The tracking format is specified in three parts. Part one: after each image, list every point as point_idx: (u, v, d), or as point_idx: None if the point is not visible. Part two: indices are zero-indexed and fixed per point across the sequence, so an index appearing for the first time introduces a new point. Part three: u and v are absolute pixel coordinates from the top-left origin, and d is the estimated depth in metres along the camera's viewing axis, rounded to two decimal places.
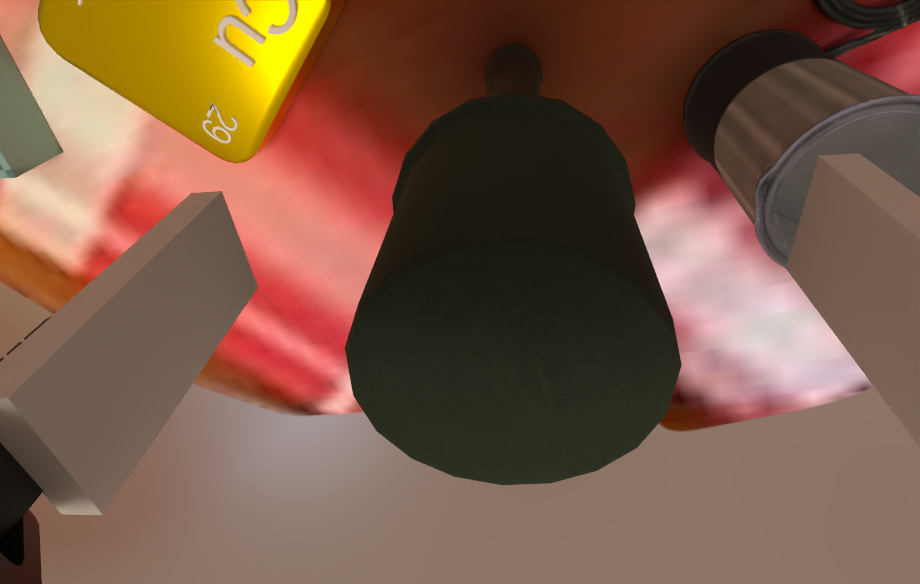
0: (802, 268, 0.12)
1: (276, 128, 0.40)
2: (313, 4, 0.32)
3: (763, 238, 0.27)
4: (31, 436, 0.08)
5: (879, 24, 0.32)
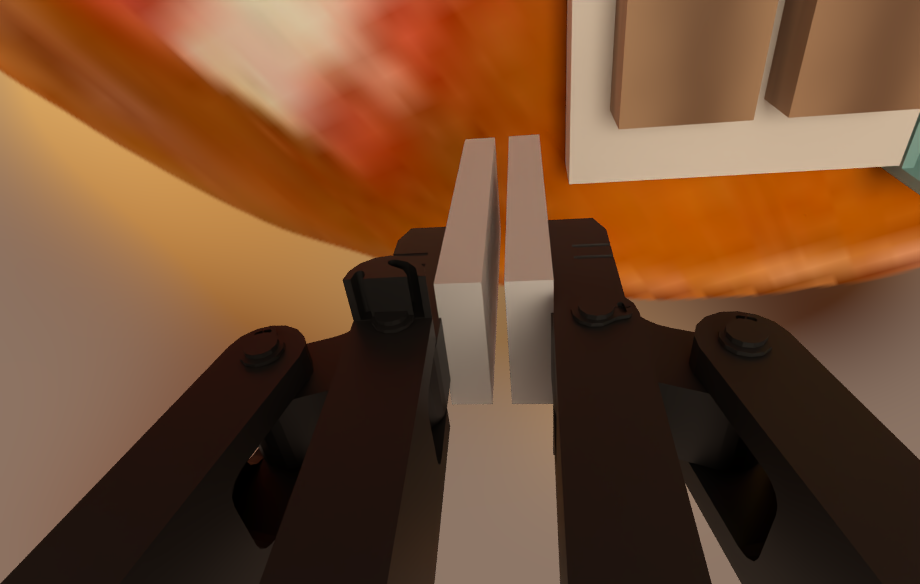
0: None
1: None
2: None
3: None
4: (477, 321, 0.09)
5: None
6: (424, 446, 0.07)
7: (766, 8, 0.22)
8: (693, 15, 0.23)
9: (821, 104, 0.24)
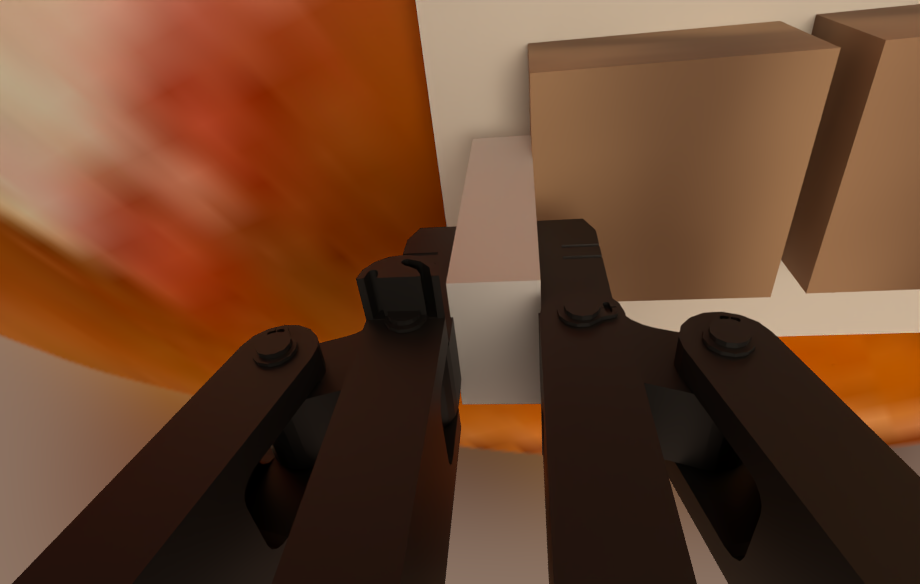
0: None
1: None
2: None
3: None
4: (489, 321, 0.09)
5: None
6: (436, 446, 0.07)
7: (799, 119, 0.11)
8: (658, 128, 0.12)
9: (866, 275, 0.13)
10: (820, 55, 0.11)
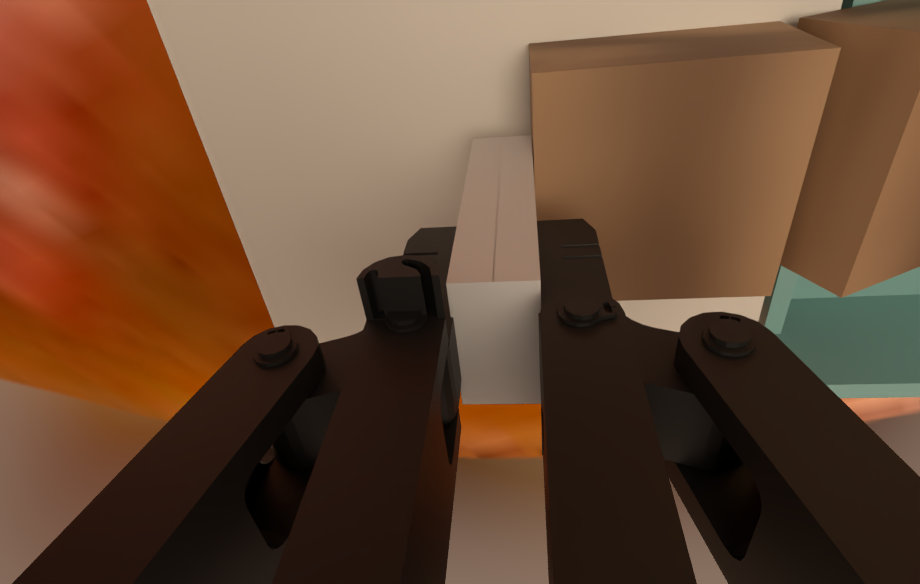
0: None
1: None
2: None
3: None
4: (489, 321, 0.09)
5: None
6: (436, 446, 0.07)
7: (800, 119, 0.11)
8: (660, 128, 0.12)
9: (884, 267, 0.13)
10: (821, 55, 0.11)
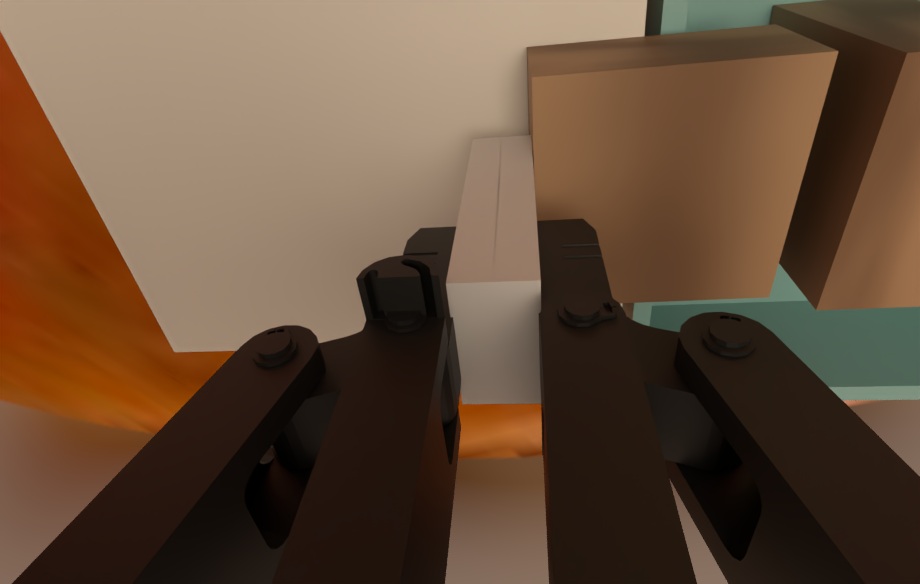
0: None
1: None
2: None
3: None
4: (489, 321, 0.09)
5: None
6: (436, 446, 0.07)
7: (798, 121, 0.12)
8: (660, 131, 0.12)
9: None
10: (818, 58, 0.11)
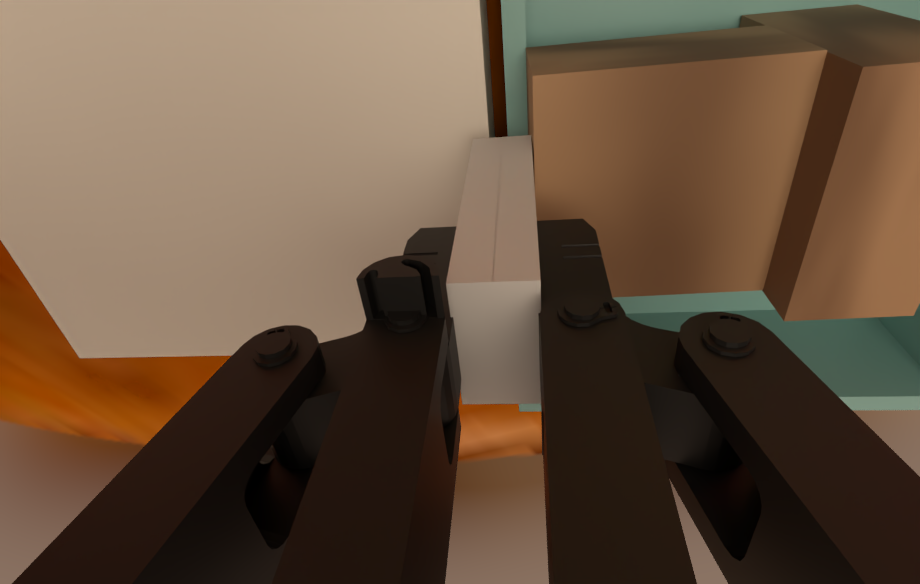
0: None
1: None
2: None
3: None
4: (489, 321, 0.09)
5: None
6: (436, 446, 0.07)
7: (789, 118, 0.12)
8: (656, 128, 0.12)
9: None
10: (808, 57, 0.11)
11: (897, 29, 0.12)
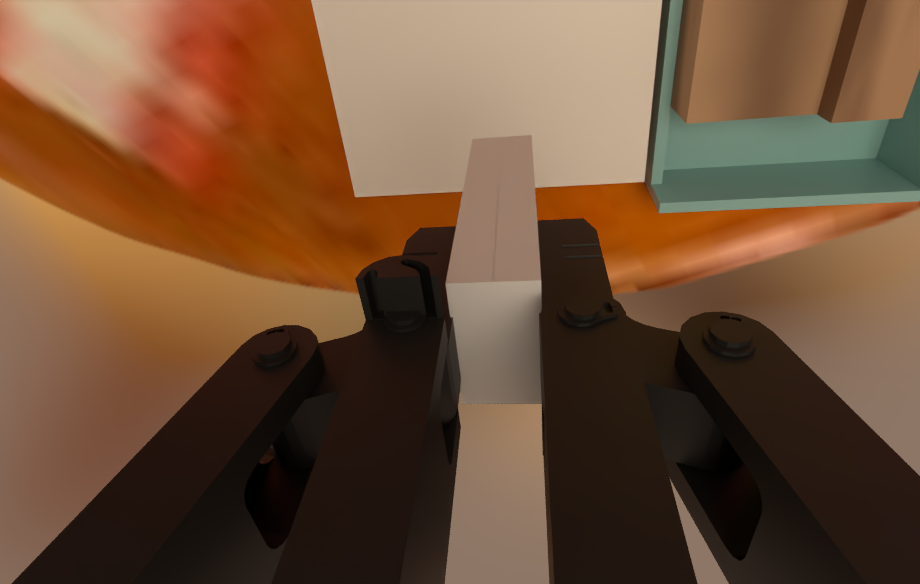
0: None
1: None
2: None
3: None
4: (489, 321, 0.09)
5: None
6: (436, 446, 0.07)
7: (836, 5, 0.23)
8: (766, 12, 0.23)
9: None
10: None
11: None
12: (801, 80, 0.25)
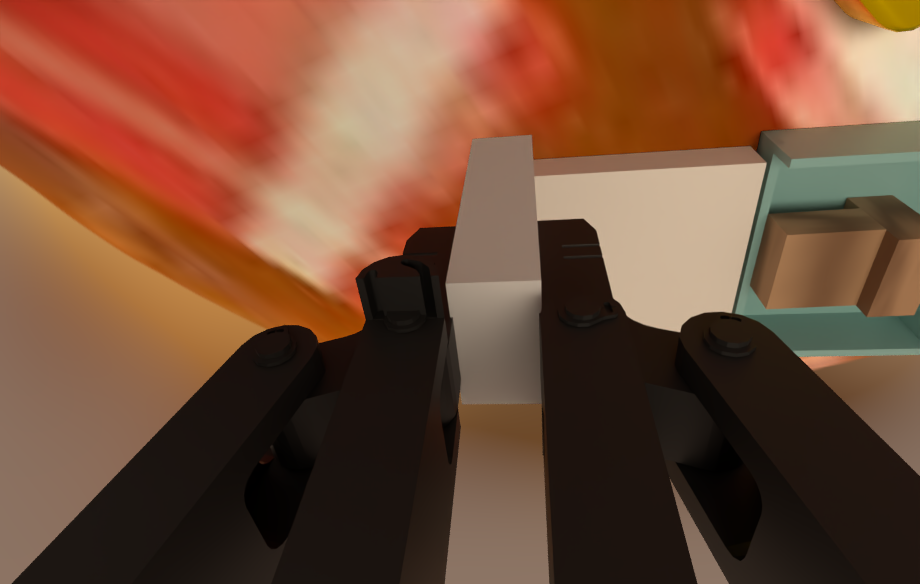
0: None
1: None
2: None
3: None
4: (489, 321, 0.09)
5: None
6: (436, 446, 0.07)
7: (872, 248, 0.35)
8: (825, 250, 0.36)
9: None
10: (880, 231, 0.35)
11: (908, 217, 0.35)
12: (846, 286, 0.37)
